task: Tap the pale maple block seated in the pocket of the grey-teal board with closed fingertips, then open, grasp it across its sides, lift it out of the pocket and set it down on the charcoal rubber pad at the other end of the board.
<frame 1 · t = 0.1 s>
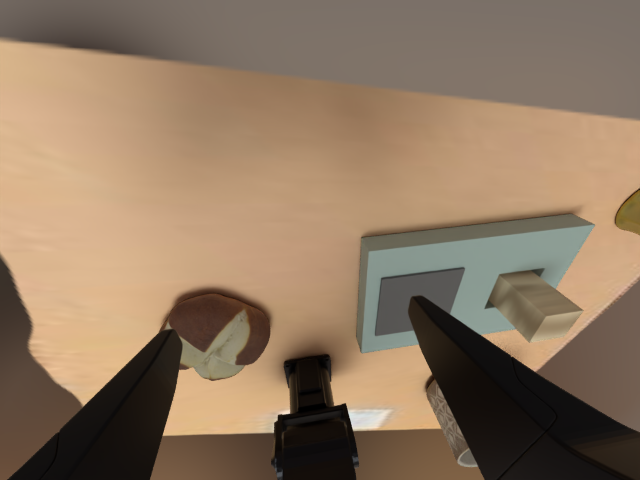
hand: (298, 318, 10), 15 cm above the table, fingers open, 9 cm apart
vase: (639, 205, 29), on the table
planter: (456, 376, 45), on the table
maple block: (497, 275, 32), resting in pocket board
bread: (217, 322, 30), on the table
pocket board: (453, 281, 32), on the table
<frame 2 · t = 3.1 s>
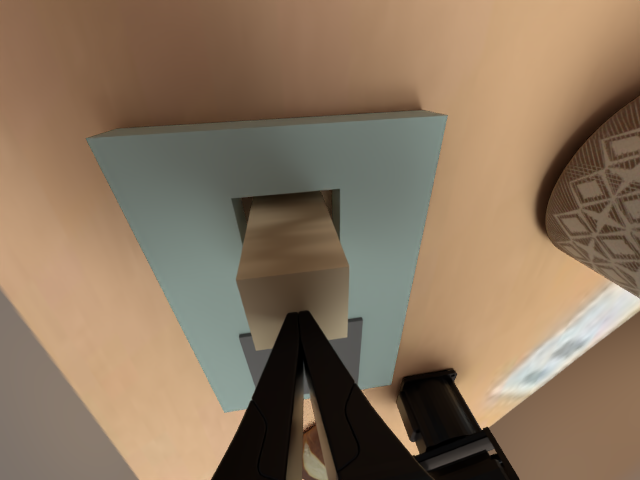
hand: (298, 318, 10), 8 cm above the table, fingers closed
planter: (615, 172, 19), on the table
maple block: (290, 218, 17), resting in pocket board
bread: (330, 434, 36), on the table
pocket board: (298, 287, 20), on the table
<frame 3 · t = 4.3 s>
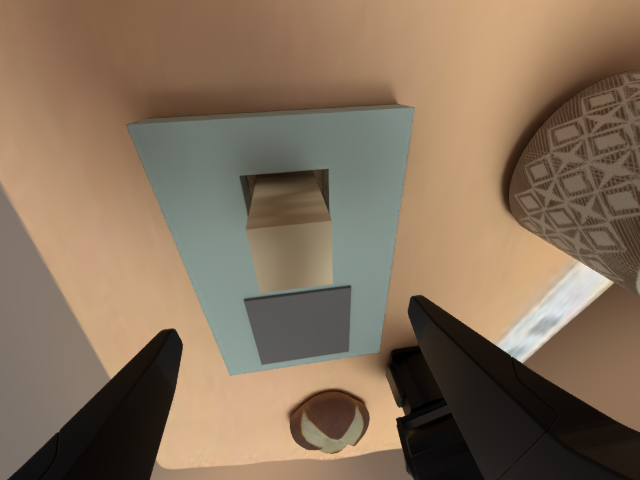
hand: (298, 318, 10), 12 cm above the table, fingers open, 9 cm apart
planter: (570, 159, 22), on the table
maple block: (288, 197, 20), resting in pocket board
bread: (326, 407, 39), on the table
pocket board: (295, 260, 23), on the table
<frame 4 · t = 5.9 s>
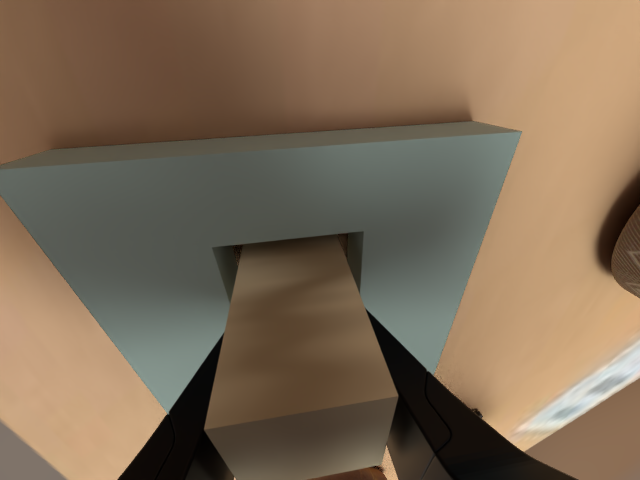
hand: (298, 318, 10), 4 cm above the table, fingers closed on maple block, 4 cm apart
maple block: (293, 259, 13), resting in pocket board, touching gripper
bread: (337, 475, 33), on the table
pocket board: (302, 334, 16), on the table
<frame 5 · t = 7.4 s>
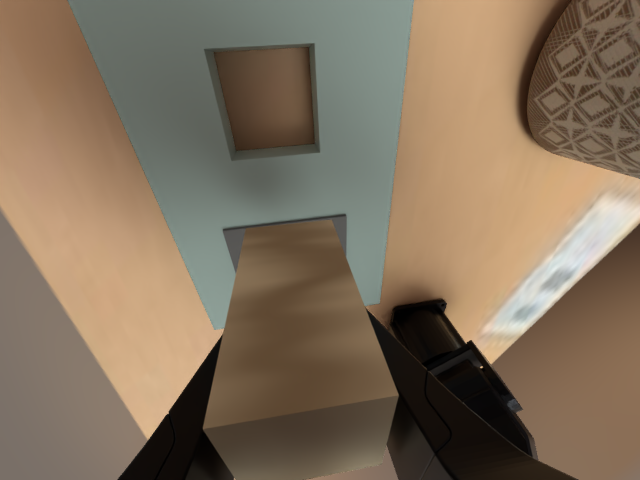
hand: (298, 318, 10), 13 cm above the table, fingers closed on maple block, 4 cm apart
planter: (597, 62, 19), on the table
maple block: (293, 258, 13), point 9 cm above the table, touching gripper
pocket board: (282, 189, 20), on the table
when the fingers open (8 cm above the table, at t = 9.0 s): maple block drops 1 cm, resting on pocket board.
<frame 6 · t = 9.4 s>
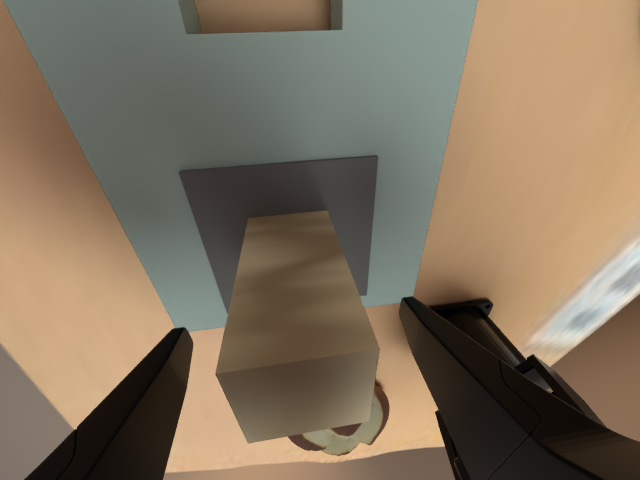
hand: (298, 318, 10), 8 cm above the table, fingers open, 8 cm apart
maple block: (292, 246, 14), point 3 cm above the table, touching pocket board
bread: (331, 394, 29), on the table
pocket board: (277, 119, 13), on the table
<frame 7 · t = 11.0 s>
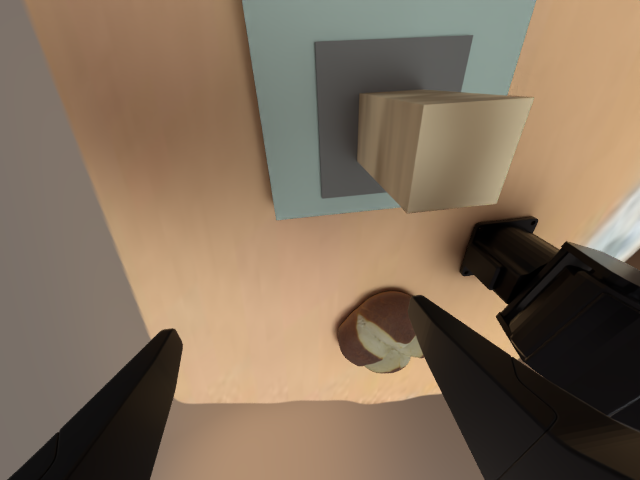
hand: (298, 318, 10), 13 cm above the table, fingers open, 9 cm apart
maple block: (388, 127, 16), point 3 cm above the table, touching pocket board
bread: (380, 321, 32), on the table
pocket board: (381, 13, 15), on the table
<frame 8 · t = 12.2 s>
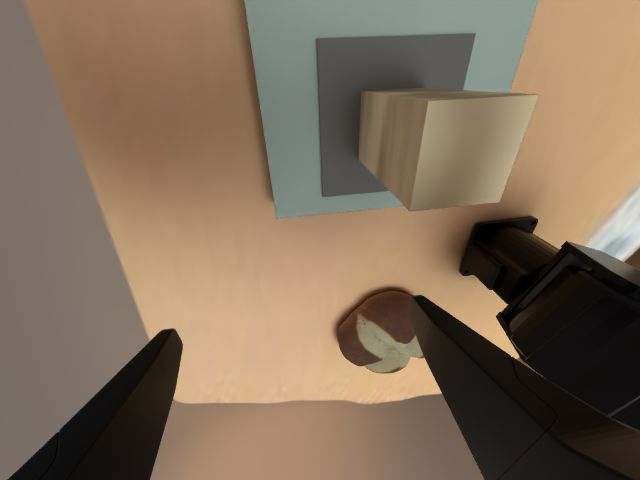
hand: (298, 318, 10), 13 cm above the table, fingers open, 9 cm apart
maple block: (390, 125, 16), point 3 cm above the table, touching pocket board
bread: (380, 321, 32), on the table
pocket board: (383, 10, 15), on the table
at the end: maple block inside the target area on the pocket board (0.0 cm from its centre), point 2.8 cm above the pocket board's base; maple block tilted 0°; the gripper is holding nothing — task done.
